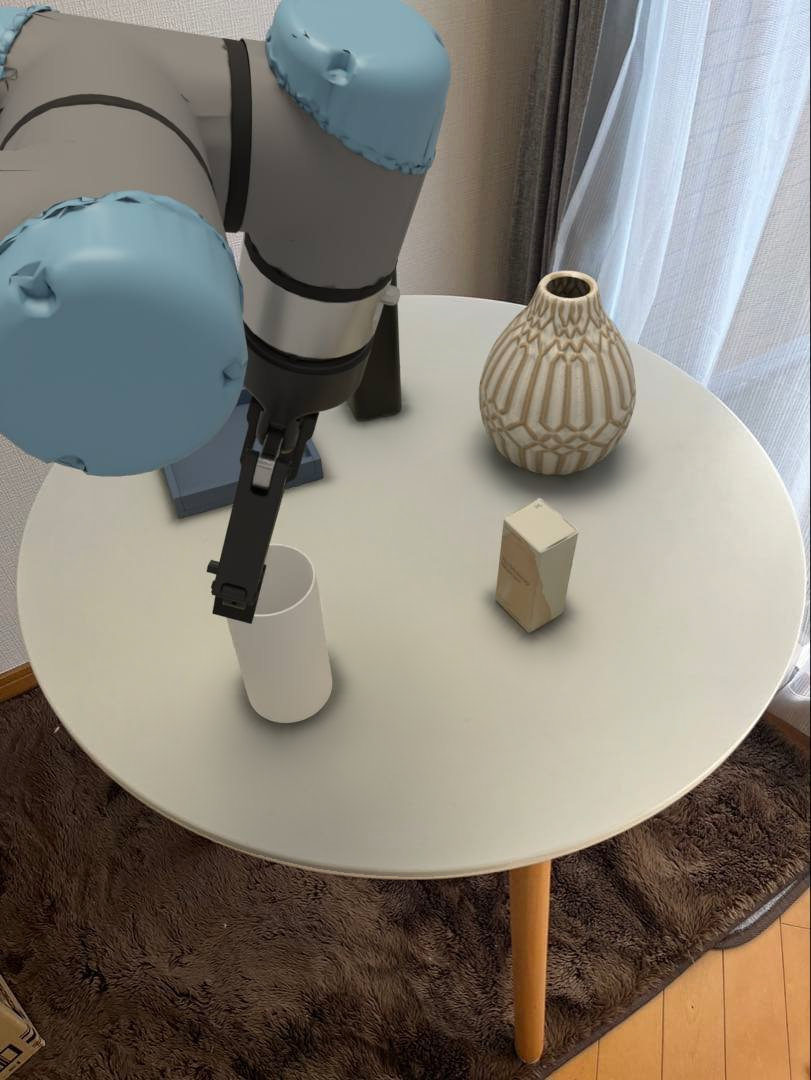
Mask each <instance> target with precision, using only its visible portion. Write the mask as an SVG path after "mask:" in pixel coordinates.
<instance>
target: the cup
mask: <svg viewBox="0 0 811 1080" xmlns="http://www.w3.org/2000/svg"><path fill="white" fill-rule="evenodd" d="M264 564H265V565H267V566H266V570H265V574H264V578H263V582H262V586H261V590H260V594H259V598H258V602H257V606H256V610H255V614H254V618H253V621H252V624H249V623H245V622H241V621H238V620H234V619H230V618H226V617H225V618H226V622H227V625H228V629H229V633H230V637H231V640H232V644H233V646H234V650H235V651H234V652H235V654H236V659H237V662H238V665H239V669H240V673H241V676H242V680H243V683H244V687H245V690H246V693H247V694H246V695H247V698H248V701H249V703H250V706H251V707H252V709H253V710H254V711H255V712H256V713H257V714H258V715H259V716H260V717H262V718H264V719H265V720H268V721H271V722H275V723H279V724H292V723H297V722H301V721H304V720H306V719H309V718H310V717H313V716H314V715H316V714H317V713H318V712H319V711H321V710H322V709H323V708H324V707H325V705H326V704H327V703H328V701H329V699H330V696H331V694H332V690H333V678H332V670H331V664H330V663H331V662H330V656H329V651H328V644H327V643H328V642H327V639H326V637H327V636H326V630H325V624H324V617H323V610H322V605H321V597H320V592H319V585H318V578H317V571H316V569H315V566H314V564H313V562H312V560H311V558H309V556H308V555H307V554H306V553H305V552H303V551H302V550H301V549H298V548H296V547H294V546H291V545H288V544H283V543H270V545H269V548H268V552H267V556H266V559H265V563H264Z"/></svg>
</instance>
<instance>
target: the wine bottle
mask: <svg viewBox="0 0 811 1080" xmlns="http://www.w3.org/2000/svg"><path fill="white" fill-rule="evenodd" d="M397 277H398V275H397V268H396V269H395V272H394V274H393V276H392V280H391V283H390V285H392V286H395V287H397V288H398V278H397ZM400 352H401V351H400V329H399V302H398V303H397V304H396V305H394V306H393V305H386V304H384V305H383V309H382V312H381V315H380V318H379V321H378V325H377V328H376V331H375V334H374V340H373V345H372V348H371V351H370V355H369V358H368V361H367V364H366V367H365V371H364V374H363V377H362V380H361V383H360V385H359V387H358V389H357V390H356V392H355V393H354V394H353V395H352V396H351V397H350V398H349V399H348V400H347V401H346V402H347V404H348V406H349V408H350V410H351V412H352V414H353V416H354V418H356V419H357V420H360V421H369V420H371V419H376V418H380V417H381V418H382V417H385V416H389V415H394V414H396V413H400V411H401V410H402V407H403V406H402V381H401V357H400Z"/></svg>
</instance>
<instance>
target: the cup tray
mask: <svg viewBox="0 0 811 1080" xmlns="http://www.w3.org/2000/svg"><path fill="white" fill-rule="evenodd" d="M251 397H252V394H251V393H250V392H249V391H248V390H247V389H246V388H245V387H244V386H243V387H242V390H241V393H240V396H239V399H238V401H237V404H236V406H235V408H234V410H233V411H232V413H231V415H230V417H229V418H228V420H227V421H226V423H225V424H224V425H223V426H222V428H221V429H220V430H219V431H218V432H217V433H216V434H215V435H214V436H213V437H212V438H211V439H210V440H209V441H208V442H207V443H206V444H205V445H203V446H202V447H201V448H199V449H198V450H197V451H195V452H194V453H192V454H191V455H189V456H187V457H185V458H183V459H182V460H179V461H177V462H175V463H173V464H171V465H168V466H166V467H163V471H164V472H163V473H164V475H165V478H166V481H167V485H168V488H169V491H170V494H171V497H172V501H173V505H174V508H175V510H176V514H177V518H178V519H182V518H186V517H189V516H193V515H197V514H199V513H200V514H201V513H203V512H207V511H211V510H215V509H216V508H218V509H219V508H222V507H225V506H228V505H231V504H232V505H233V503H234V498H235V494H236V490H237V486H238V481H239V475H240V470H241V464H240V457H241V453H242V449H243V445H244V441H245V438H246V434H247V430H248V421H247V412H248V408H249V404H250V401H251ZM253 450H255V451H259V452H261V450H262V446H261V445H260V443H259V441H258V440H257V437H256V440H255V444H254V447H253ZM324 478H325V477H324V469H323V462H322V457H321V455H320V453H319V451H318V449H317V447H316V445H315V443H314V440H313V438H310V439H309V440H308V441H307V443H306V446H305V450H304V454H303V457H302V461H301V464H300V468H299V472H298V474H297V477H296V478H295V479H294V480H292V481H289V482H287V483H286V487H285V490H286V489H290V488H293V487H297V486H299V485H303V484H308V483H311V482H314V481H318V480H321V479H324Z"/></svg>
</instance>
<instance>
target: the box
mask: <svg viewBox="0 0 811 1080" xmlns="http://www.w3.org/2000/svg"><path fill="white" fill-rule="evenodd" d="M501 531H502V533H501V542H500V551H499V560H498V569H497V580H496V587H495V588H496V590H495V599H494V600H495V601H496V602H497V603H498V604H499V605H500V606H501V607H502V608H503V610H505V611H506V612H507V613H508V614H509V615H510V616H511V617H512V619H514V620H515V622H516V623H518V625H520V626H521V628H523V630H525V631H526V632H527V633H532V632H533V631H535V630H537V629H539V628H540V627H542V626H544V625H546V624H547V623H549V622H551V621H552V620H554V619H555V618H557V617H559V616H560V615H562V614H564V609H565V603H566V598H567V594H568V588H569V582H570V578H571V573H572V567H573V561H574V556H575V551H576V548H577V547H576V546H577V542H578V536H579V530H578V528H577V527H576V526H574V525H573V524H572V523H571V522H570V521H568V520H567V519H566V518H565V517H564V516H563V515H561V514H560V513H559V512H558V511H557V510H555V509H554V508H553V507H552V506H551V505H550V504H548V503H547V502H546V501H545V500H544V499H543V498H540V497H538V498H537V499H535V500H533V501H531V502H529V503H528V504H525V505H524V506H522V507H520V508H518V509H517V510H514V511H513V512H511V513H510V514H508V515H506V516H504V517H503V523H502V530H501Z"/></svg>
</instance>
